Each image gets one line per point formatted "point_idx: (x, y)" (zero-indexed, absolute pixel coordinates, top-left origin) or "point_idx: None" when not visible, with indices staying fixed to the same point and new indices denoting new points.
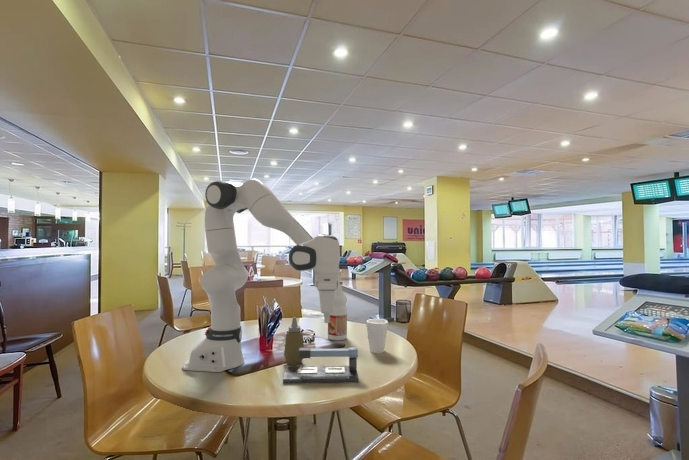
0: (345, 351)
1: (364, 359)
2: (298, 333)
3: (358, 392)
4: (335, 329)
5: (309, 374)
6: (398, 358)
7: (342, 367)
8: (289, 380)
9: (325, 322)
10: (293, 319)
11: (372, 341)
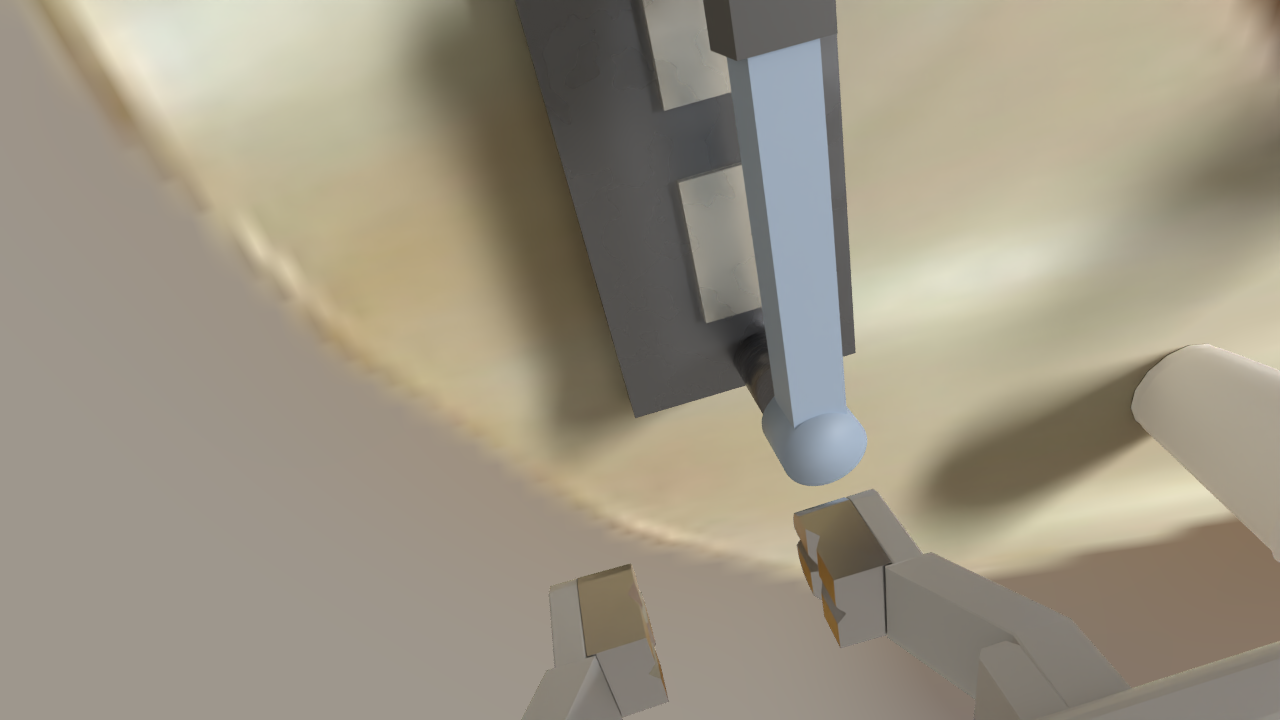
0: (787, 398)
1: (1028, 348)
2: None
3: (486, 433)
4: None
5: (632, 43)
6: (1020, 513)
7: None
8: None
9: (557, 599)
10: None
11: (1213, 415)
